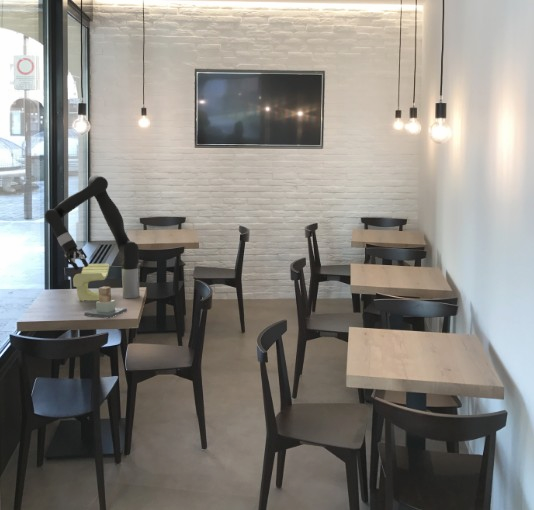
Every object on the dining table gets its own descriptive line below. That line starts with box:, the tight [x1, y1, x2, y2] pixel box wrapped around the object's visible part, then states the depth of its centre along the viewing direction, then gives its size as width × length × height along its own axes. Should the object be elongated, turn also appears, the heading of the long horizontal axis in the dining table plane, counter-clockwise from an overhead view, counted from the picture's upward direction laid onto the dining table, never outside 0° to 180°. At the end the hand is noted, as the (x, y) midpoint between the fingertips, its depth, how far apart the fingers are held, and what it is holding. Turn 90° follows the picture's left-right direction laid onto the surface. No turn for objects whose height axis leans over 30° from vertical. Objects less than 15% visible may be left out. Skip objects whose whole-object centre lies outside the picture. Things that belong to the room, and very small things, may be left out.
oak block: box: [98, 286, 112, 303], centre depth 384 cm, size 4×4×8 cm
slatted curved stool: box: [72, 263, 110, 302], centre depth 419 cm, size 30×16×18 cm, turn 4°
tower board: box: [83, 299, 128, 319], centre depth 385 cm, size 16×16×7 cm
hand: (82, 268), depth 390 cm, fingers open, 8 cm apart
